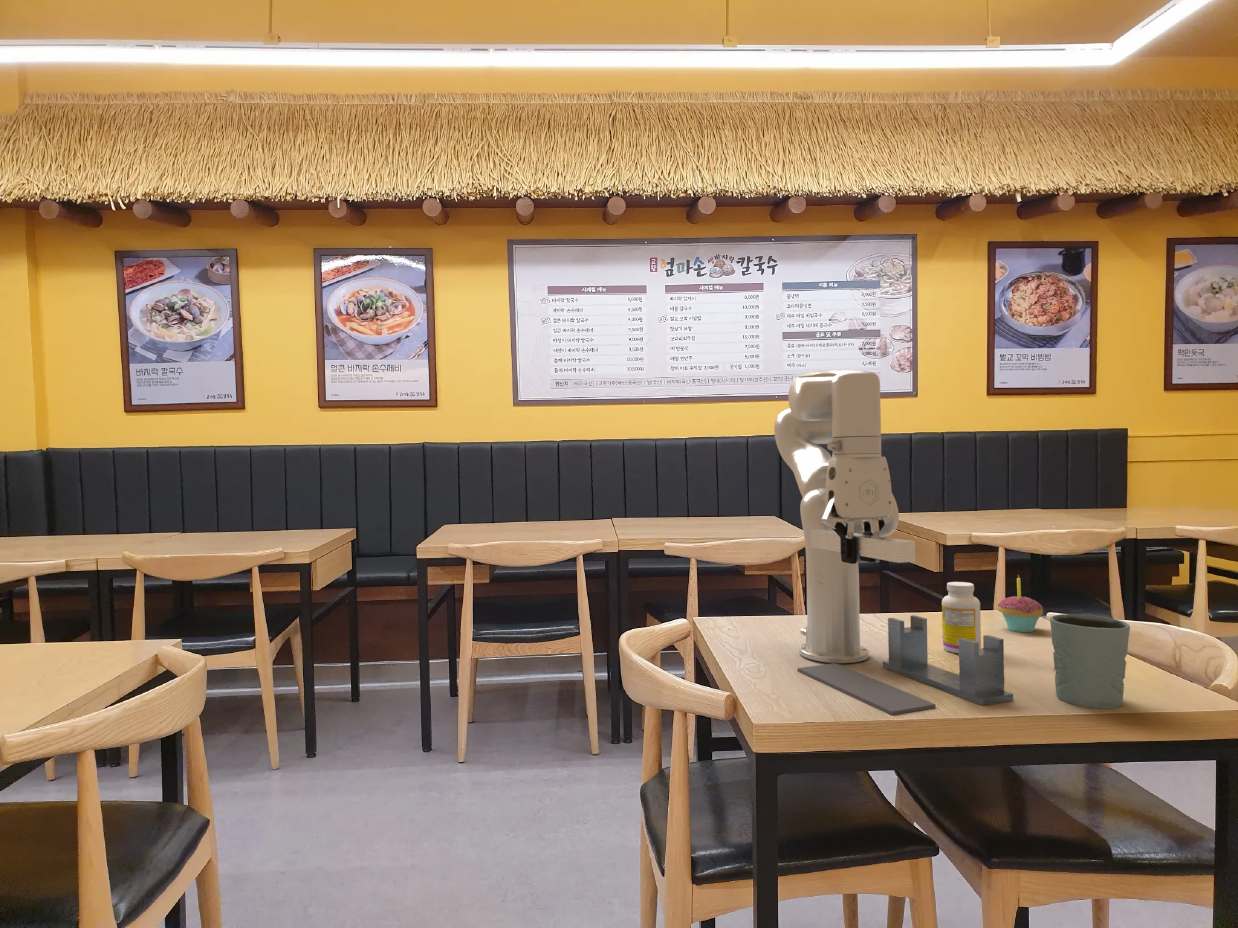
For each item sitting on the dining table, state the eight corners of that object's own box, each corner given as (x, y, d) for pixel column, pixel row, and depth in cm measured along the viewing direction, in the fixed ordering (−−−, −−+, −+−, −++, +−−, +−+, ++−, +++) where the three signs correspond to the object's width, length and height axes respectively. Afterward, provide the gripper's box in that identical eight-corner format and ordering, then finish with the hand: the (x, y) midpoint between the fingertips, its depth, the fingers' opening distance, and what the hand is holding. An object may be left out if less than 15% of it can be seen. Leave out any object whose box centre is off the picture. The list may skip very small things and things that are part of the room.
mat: (797, 670, 128) (797, 667, 128) (835, 665, 131) (835, 662, 131) (891, 714, 105) (891, 711, 105) (935, 707, 108) (935, 704, 108)
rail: (810, 546, 128) (810, 529, 128) (825, 545, 129) (825, 529, 129) (898, 562, 107) (898, 542, 107) (915, 561, 108) (914, 541, 108)
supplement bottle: (956, 644, 144) (955, 579, 144) (988, 651, 138) (987, 584, 138) (935, 649, 140) (934, 583, 140) (967, 657, 135) (966, 587, 135)
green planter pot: (1036, 692, 114) (1034, 616, 114) (1086, 685, 117) (1085, 611, 117) (1094, 713, 104) (1093, 630, 104) (1148, 706, 107) (1146, 624, 107)
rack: (882, 667, 129) (881, 616, 129) (909, 663, 131) (908, 613, 131) (982, 705, 109) (981, 645, 109) (1013, 700, 111) (1012, 641, 111)
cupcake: (1042, 636, 149) (1041, 577, 149) (995, 631, 154) (994, 574, 154) (1044, 627, 156) (1043, 571, 156) (1000, 623, 161) (999, 569, 161)
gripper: (828, 448, 112) (830, 568, 112) (913, 447, 117) (915, 561, 117) (800, 449, 119) (802, 562, 119) (882, 448, 124) (883, 556, 124)
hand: (858, 560), depth 118 cm, fingers closed on rail, 3 cm apart
